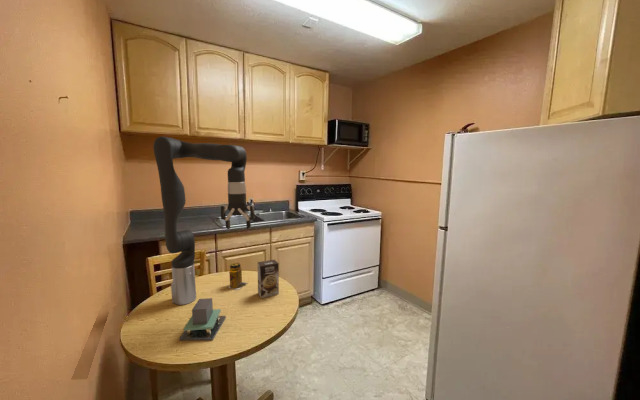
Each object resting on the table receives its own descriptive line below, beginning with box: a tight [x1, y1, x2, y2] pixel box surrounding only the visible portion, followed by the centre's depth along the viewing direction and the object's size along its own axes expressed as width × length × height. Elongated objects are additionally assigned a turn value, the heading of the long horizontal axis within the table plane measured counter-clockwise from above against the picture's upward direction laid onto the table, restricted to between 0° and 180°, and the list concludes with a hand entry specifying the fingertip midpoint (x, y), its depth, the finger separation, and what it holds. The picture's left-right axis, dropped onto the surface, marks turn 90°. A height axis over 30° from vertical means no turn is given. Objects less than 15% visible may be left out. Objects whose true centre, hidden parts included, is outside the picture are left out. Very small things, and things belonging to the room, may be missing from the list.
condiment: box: [226, 262, 248, 291], centre depth 138 cm, size 7×8×12 cm
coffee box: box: [257, 259, 280, 299], centre depth 130 cm, size 9×6×16 cm
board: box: [183, 297, 222, 332], centre depth 102 cm, size 10×12×7 cm
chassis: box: [179, 315, 227, 341], centre depth 102 cm, size 12×14×4 cm
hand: (238, 228), depth 116 cm, fingers open, 8 cm apart
